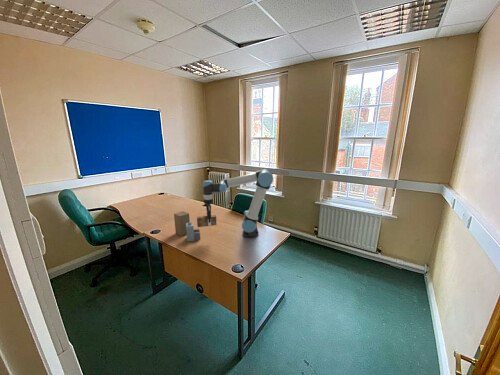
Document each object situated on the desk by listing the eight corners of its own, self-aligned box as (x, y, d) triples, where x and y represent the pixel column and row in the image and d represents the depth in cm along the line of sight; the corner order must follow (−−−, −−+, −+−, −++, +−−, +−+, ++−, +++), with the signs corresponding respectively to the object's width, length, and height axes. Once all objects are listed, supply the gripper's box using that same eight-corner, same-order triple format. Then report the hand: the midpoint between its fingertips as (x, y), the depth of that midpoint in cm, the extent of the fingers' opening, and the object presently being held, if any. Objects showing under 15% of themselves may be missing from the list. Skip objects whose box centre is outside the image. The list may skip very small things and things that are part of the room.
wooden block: (184, 229, 204) (183, 210, 200) (190, 232, 198) (189, 213, 193) (175, 233, 197) (173, 213, 192) (181, 236, 191) (179, 216, 186)
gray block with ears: (199, 235, 192) (198, 219, 188) (200, 239, 185) (199, 222, 181) (187, 237, 189) (186, 220, 185) (187, 241, 182) (185, 224, 178)
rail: (215, 223, 185) (215, 214, 183) (216, 225, 181) (216, 216, 179) (197, 225, 180) (196, 216, 178) (197, 227, 176) (197, 218, 174)
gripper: (202, 196, 182) (204, 221, 188) (204, 202, 166) (205, 229, 172) (211, 195, 184) (212, 220, 190) (213, 201, 169) (214, 227, 174)
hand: (209, 224), depth 181 cm, fingers closed on rail, 4 cm apart
